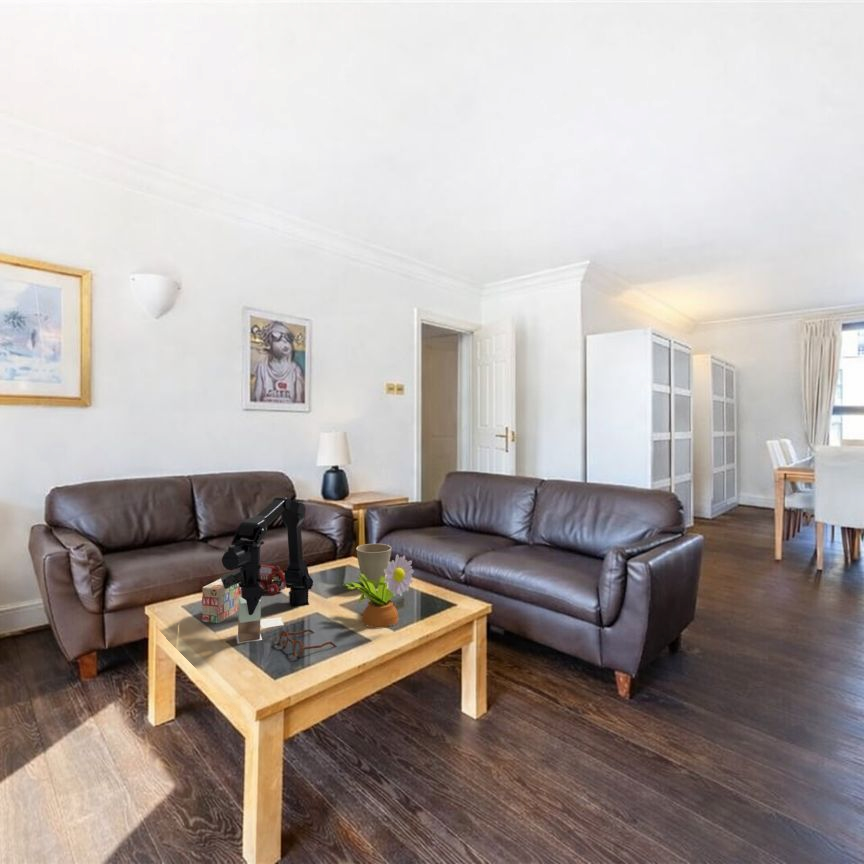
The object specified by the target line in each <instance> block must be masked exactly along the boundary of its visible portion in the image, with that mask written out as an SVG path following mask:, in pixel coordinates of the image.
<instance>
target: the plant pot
mask: <svg viewBox="0 0 864 864" xmlns="http://www.w3.org/2000/svg"><path fill="white" fill-rule="evenodd" d="M355 549H356V556H357V562H358V563H357V564H358V568H359V571H360V574H364V575H365V577H366V578H367V580H374V581H378V582H380V579H381V575H382V577H386V576H387V574H385V573H384V569H387V566H388V561H390V560H391V556H392V546H390V545H388V544H384V543H367V544H361V545H358V546H357V547H356V548H355ZM390 562H391V561H390ZM361 578H363V577H361ZM363 579H364V578H363ZM364 580H365V579H364ZM365 581H366V580H365ZM366 582H367V581H366ZM372 584H373V583H372ZM373 585H374V587H375V588H378V586H379V585H377V584H373Z"/></svg>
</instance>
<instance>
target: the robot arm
mask: <svg viewBox="0 0 864 864" xmlns="http://www.w3.org/2000/svg"><path fill="white" fill-rule="evenodd" d="M306 511H307V510H306V506H305V504H304V503H303V502H300V501H295V500H292V499H291V498H289V497H282V496H277V497H274V498H273V501H272V502H270V503H269V504H268V505H267V506H266V507H265V508H264V509H262V510H261V511H260V512H259V513H258V514H257V515H255V516H252V517H249V518H246V519H244V520H243V521H241V523H240V524H239V525H238V527H237V530H236V532H235V534H234V536H233V539H232V541H231V544H230V545H231V546H228V547H227V551H226V552H224V554H223V555H222V558H221V563H222V566H223V568H225V569H226V570H227V571H229V572H227V573H224V574H222V575H221V576H220V578H221V580H222V583H223V586H224V588H225V589H227V588H230V586H233V585H235V584H237V583H238V584H239V586H240V587H241V596H242V598H243V599H245V600H246V602H247V607H248V613H249V615H253V613H254V611H255V609H256V606H257V604H258V602H259V600H261V599H262V597H263V596H265V594H264V593H265V592H264V588H263V586H262V585H261V584H260V583H258V582H261V578H260V569H261V565H262V564H261V550H262V549H261V546H262V545H265V542H264V540H262V539H263V537H264V536H265V535H266V534H267V532H268V527H269V526H270V525H271V523H273V522H274V521H275V520H276V519H277V518H278V517H279V516H280V517H281V520H282V522H283V523H284V525H285V527H286V532H287V547H288V548H287V549H288V565H287V567H286V569H284V571H283V573H284V576H285V578H284V580H285V583H286V588H285V589H289V591H288V601H287V602H288V604H289V605H290V606H291V607H292V608H295V607H304V606H310V603H309V590H311V589H312V588H313V585H314V580H313V579H312V577H311V576H310V575H309V568H308V566H307V565H306V563H305V561H304V558H303V557H304V556H303V539H302V523H303V521H304V519H306ZM239 582H240V583H239Z"/></svg>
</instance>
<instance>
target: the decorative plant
mask: <svg viewBox="0 0 864 864" xmlns="http://www.w3.org/2000/svg"><path fill="white" fill-rule="evenodd" d="M412 563H413V561H412V560H408V559H406V555H404V554H403V556H399V554H398V553H397V554H396V555H395V560H394V559H392V560H391V561H388V566H387V569H384V573H385V574H386V575H385V577H382V575H381V579H380V582H378V581H374V580H367V578H366V577H365V575H364V574H361V573H359V576H357V577H356V576H355V578H357V580H359V581H360V582H361V583H362V584H363V586H362V585H361V584H360V583H357V582H352V581H351V582H349V583H346V584H344V583H342V586H347V590H355V589H358V590H359V592H361V595H360V596H359V600H358V601H357V603H358V604H359V603H361V602H362V601H364V600H365V599H366V598H367V599H368V601H369V602H368V603H367V606H366V607H365V609H364V610H363V613H362V617H361V623H362V622H363V623H364V624H363V623H362V624H363V625H365V626H367V625H368V626H367V627H370V626H371V628H376V627H384V628H387V627H386V626H390V627H392V626H391V625H393V624H395V623H397V622H398V620H399V621H400V618H399V612H398V610H397V608H396V607H395V606H394V602H393V601H392V600H391V599H392V598H393V597H397V595H399V596H400V597H402V596H403V593H405V592H409V590H410V589H409V587H410V586H411V585H410V584H413V582H414V581H413V579H412V577H413V575H412V574H413V573H414V569H412V568H413V566H412ZM362 577H363V578H364V579H365V580H366V581H367V582H366V581H365V580H364V579H363V578H362ZM372 583H373V584H377V585H379V586H378V587H377V588H376V587H374V585H373V584H372ZM365 597H366V598H365ZM398 623H399V622H398ZM398 623H397V624H398ZM393 626H394V625H393Z"/></svg>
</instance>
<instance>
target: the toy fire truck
mask: <svg viewBox="0 0 864 864" xmlns="http://www.w3.org/2000/svg"><path fill="white" fill-rule="evenodd" d="M260 565H261V569H260V578H261V582H258V583H260V584H261V585H262V586H263V588H264V593H265V592H268V594H270V595H276V594H277V593H278V592H279V591H280V590H285V589H287V588H286V583H285V580H284V578H285V575H284V571H283V570H281V567H280V566H279V565H276V566H273V565H264V564H260Z"/></svg>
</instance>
